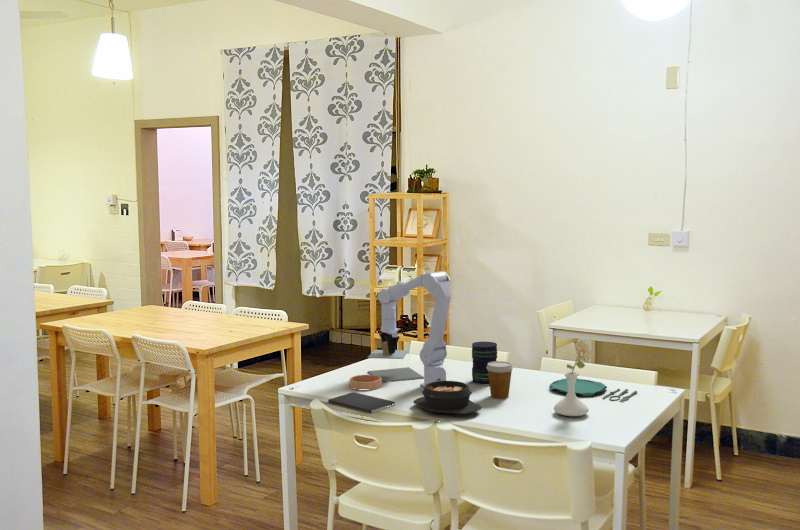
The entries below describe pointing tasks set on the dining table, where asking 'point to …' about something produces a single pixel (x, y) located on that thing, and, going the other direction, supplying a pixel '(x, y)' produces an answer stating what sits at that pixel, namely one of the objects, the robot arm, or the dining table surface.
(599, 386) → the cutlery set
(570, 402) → the flower in vase
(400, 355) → the cover
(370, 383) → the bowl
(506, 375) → the disposable coffee cup
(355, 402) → the notebook
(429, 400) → the casserole
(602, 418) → the dining table surface
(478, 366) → the storage jar
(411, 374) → the mat
